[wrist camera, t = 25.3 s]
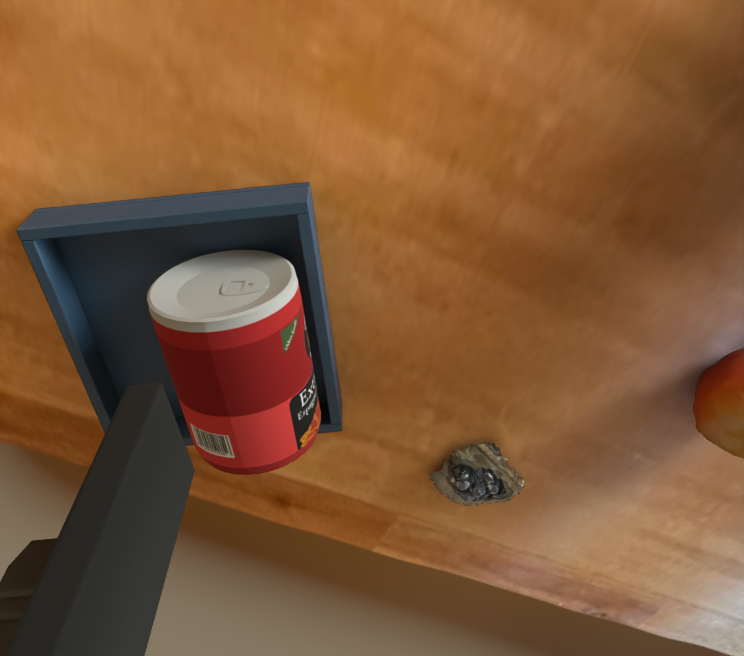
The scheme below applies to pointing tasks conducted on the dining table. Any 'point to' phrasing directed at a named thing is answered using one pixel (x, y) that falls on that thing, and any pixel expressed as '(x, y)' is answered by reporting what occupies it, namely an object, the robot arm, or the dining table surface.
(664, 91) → the dining table surface
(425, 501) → the dining table surface
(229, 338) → the canned food
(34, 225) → the tray
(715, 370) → the fruit
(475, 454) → the grey mineral rock
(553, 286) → the dining table surface
